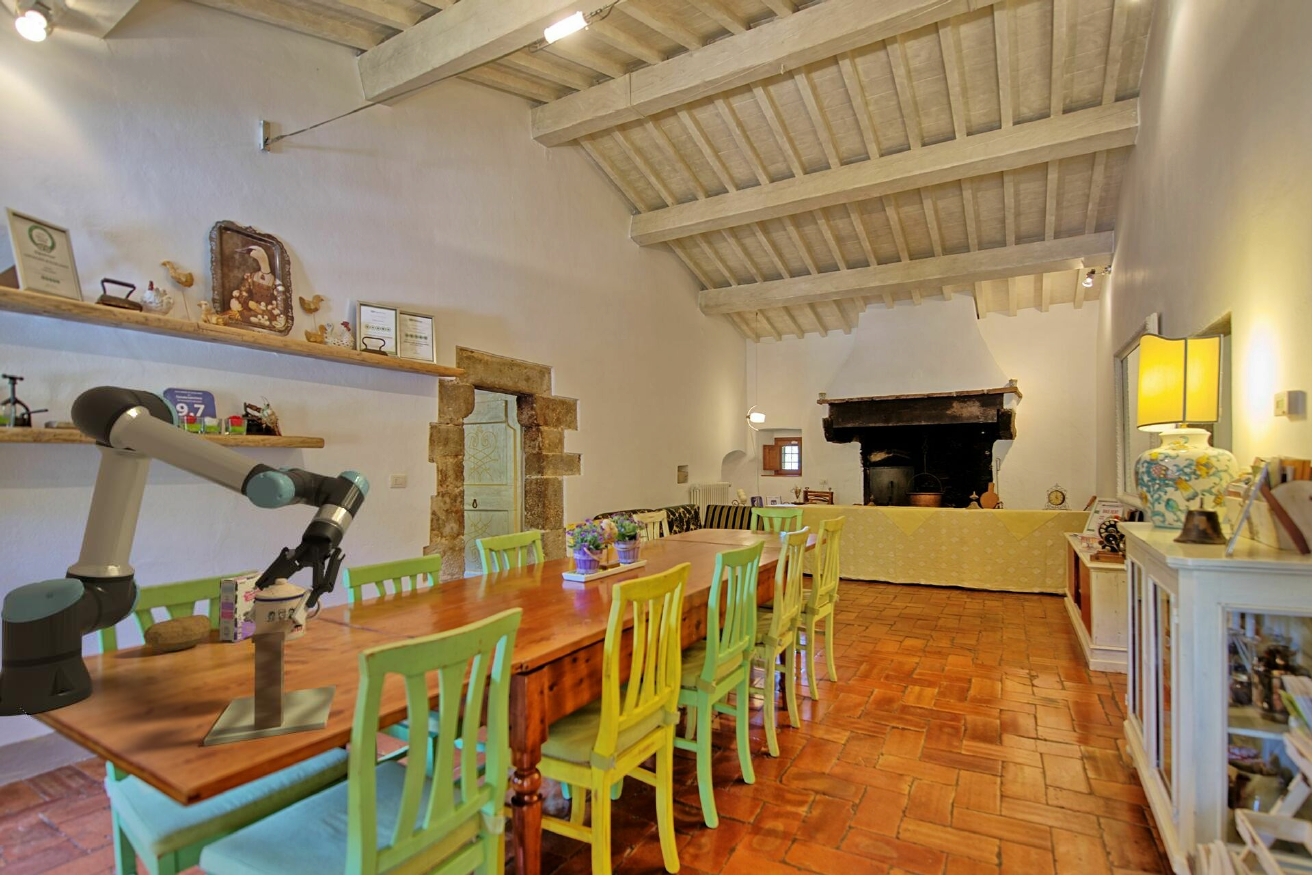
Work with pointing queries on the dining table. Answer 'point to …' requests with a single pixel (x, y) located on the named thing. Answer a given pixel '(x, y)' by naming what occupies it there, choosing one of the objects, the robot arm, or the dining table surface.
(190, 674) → the dining table surface
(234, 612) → the candy box
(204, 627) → the potato
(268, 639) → the stand
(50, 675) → the robot arm
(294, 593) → the teacup with lid
